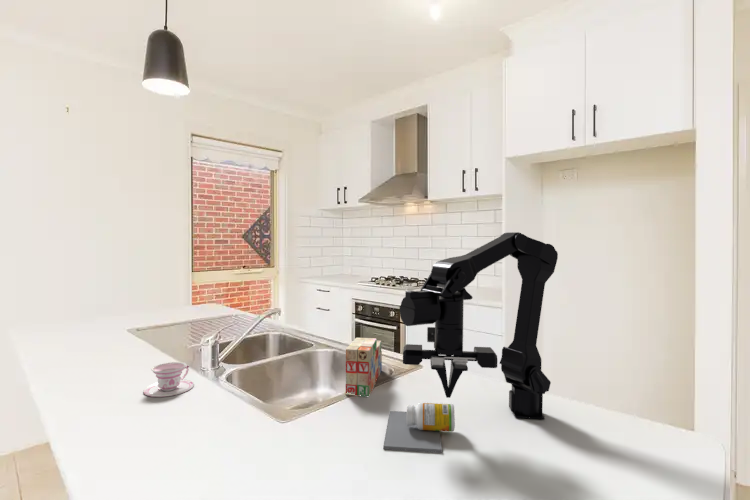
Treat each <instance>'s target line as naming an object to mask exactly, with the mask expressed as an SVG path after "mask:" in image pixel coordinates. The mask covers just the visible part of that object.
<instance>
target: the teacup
mask: <svg viewBox="0 0 750 500" xmlns="http://www.w3.org/2000/svg"><path fill="white" fill-rule="evenodd" d="M189 368H190V365H187V363H186V362H184V361H183V362H182V361H181V362H180V361H178V362H177V361H175V362H174V361H173V362H164V363H160V364H157V365H154V366H153V367H151V368H150V371H152V373H153V374H154V375H155V377H156V378H157V382H155V383H153V384H150V385H148V386H147V387H145V388H144V390H143V394H144V395H145V396H147V397H152V398H164V397H172V396H176V395H177V396H178V395H181V394H184V393H186V392H188V391H190V390H191V389H193V388H194V386H195V384H194V382H193V381H191V380H187V379H185V378H186V376H187V375H188V374H189V371H190V369H189ZM185 369H186V370H185ZM184 370H185V373H184V374H183V371H184ZM182 374H183V376H182V377H181V375H182ZM155 386H156V388H157V389H159V390H157V389H154V388H153V387H155ZM177 387H178V388H177ZM151 388H153V389H154V390H155V391H154V392H153V391H152V392H153V394H150V393H151V392H149V391H150V389H151ZM160 390H162V391H160Z"/></svg>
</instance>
